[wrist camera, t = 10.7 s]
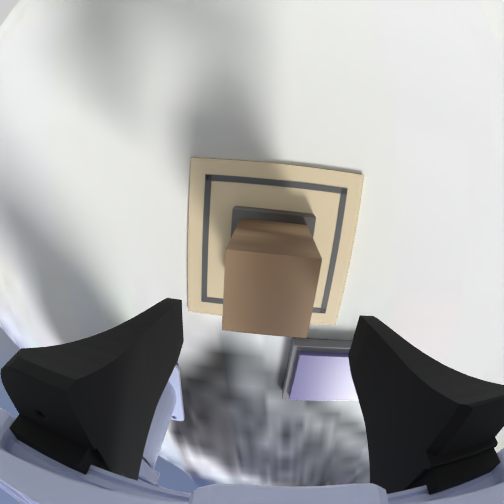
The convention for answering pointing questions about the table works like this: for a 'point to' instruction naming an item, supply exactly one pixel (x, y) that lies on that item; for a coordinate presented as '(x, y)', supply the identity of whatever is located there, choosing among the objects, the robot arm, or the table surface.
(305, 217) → the stamp
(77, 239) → the table surface
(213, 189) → the card
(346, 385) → the pad
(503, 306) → the table surface
